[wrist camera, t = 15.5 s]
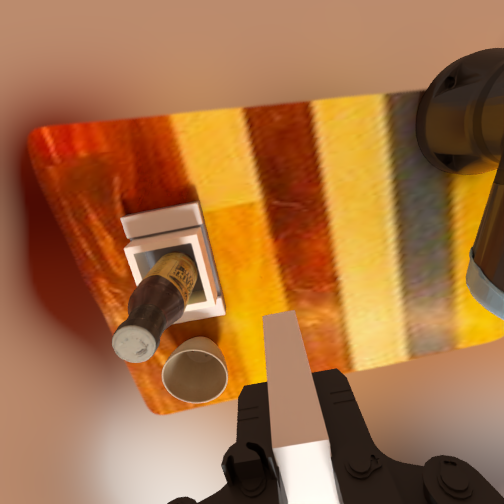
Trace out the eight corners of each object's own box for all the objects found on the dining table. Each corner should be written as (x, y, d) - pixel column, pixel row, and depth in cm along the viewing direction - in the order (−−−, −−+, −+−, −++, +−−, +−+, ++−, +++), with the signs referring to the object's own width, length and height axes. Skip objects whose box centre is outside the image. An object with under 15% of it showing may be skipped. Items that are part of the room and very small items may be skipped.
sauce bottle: (202, 283, 48) (177, 374, 29) (162, 289, 48) (112, 383, 29) (194, 243, 46) (161, 314, 27) (152, 249, 46) (90, 323, 27)
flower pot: (234, 327, 52) (232, 355, 46) (224, 374, 56) (222, 407, 49) (174, 319, 52) (164, 345, 45) (169, 367, 55) (158, 399, 48)
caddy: (199, 200, 45) (193, 207, 40) (225, 307, 51) (224, 325, 46) (126, 214, 45) (111, 224, 40) (161, 319, 51) (152, 339, 46)
